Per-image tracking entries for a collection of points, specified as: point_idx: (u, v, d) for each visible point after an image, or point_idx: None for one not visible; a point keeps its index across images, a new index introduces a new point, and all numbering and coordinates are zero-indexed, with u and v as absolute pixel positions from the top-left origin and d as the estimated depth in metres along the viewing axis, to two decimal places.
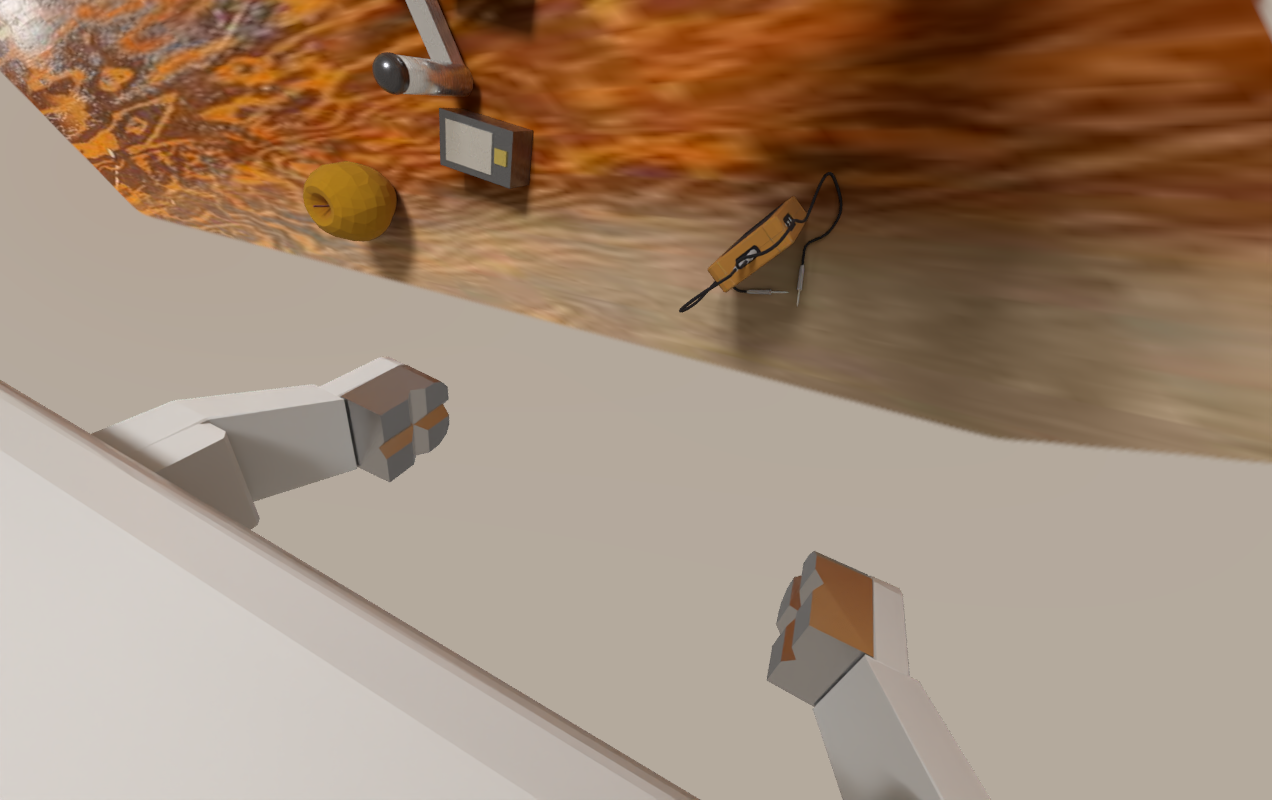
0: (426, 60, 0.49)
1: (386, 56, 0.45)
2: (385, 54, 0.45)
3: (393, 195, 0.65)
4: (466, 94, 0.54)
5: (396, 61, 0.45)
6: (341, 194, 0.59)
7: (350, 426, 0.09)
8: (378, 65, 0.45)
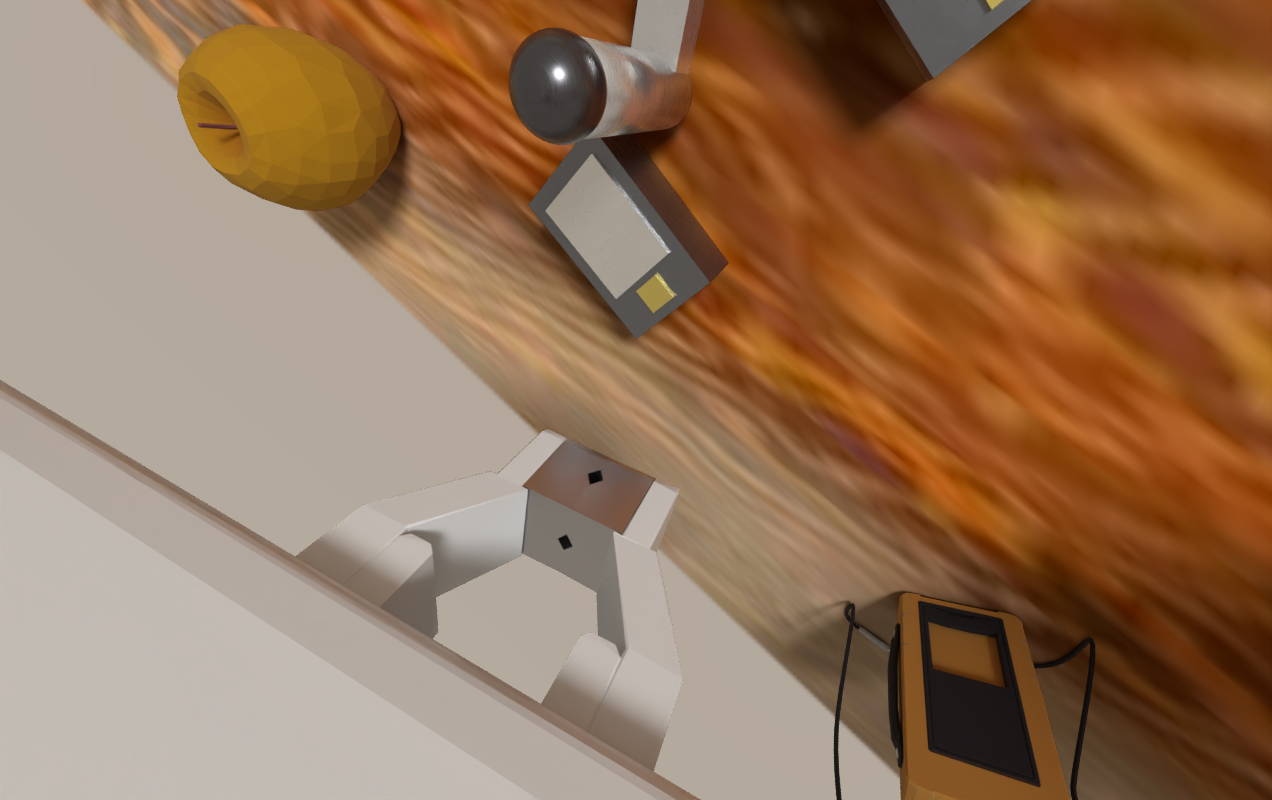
0: (643, 70, 0.19)
1: (575, 60, 0.15)
2: (575, 51, 0.15)
3: (395, 145, 0.32)
4: None
5: (593, 87, 0.16)
6: (282, 139, 0.25)
7: (527, 515, 0.08)
8: (542, 75, 0.15)
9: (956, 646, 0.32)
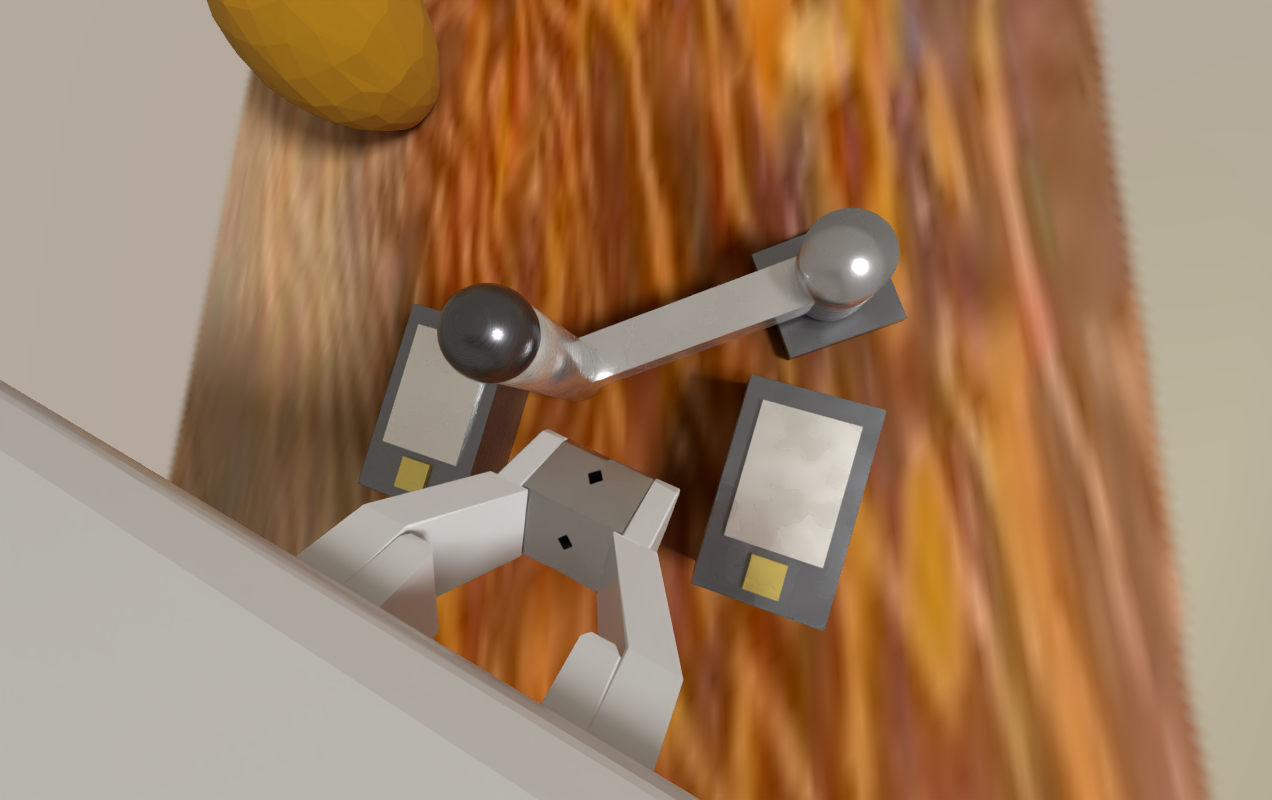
0: (565, 374, 0.20)
1: (514, 348, 0.15)
2: (521, 342, 0.15)
3: (389, 130, 0.29)
4: None
5: (506, 371, 0.16)
6: (287, 18, 0.21)
7: (527, 515, 0.08)
8: (481, 328, 0.15)
9: None
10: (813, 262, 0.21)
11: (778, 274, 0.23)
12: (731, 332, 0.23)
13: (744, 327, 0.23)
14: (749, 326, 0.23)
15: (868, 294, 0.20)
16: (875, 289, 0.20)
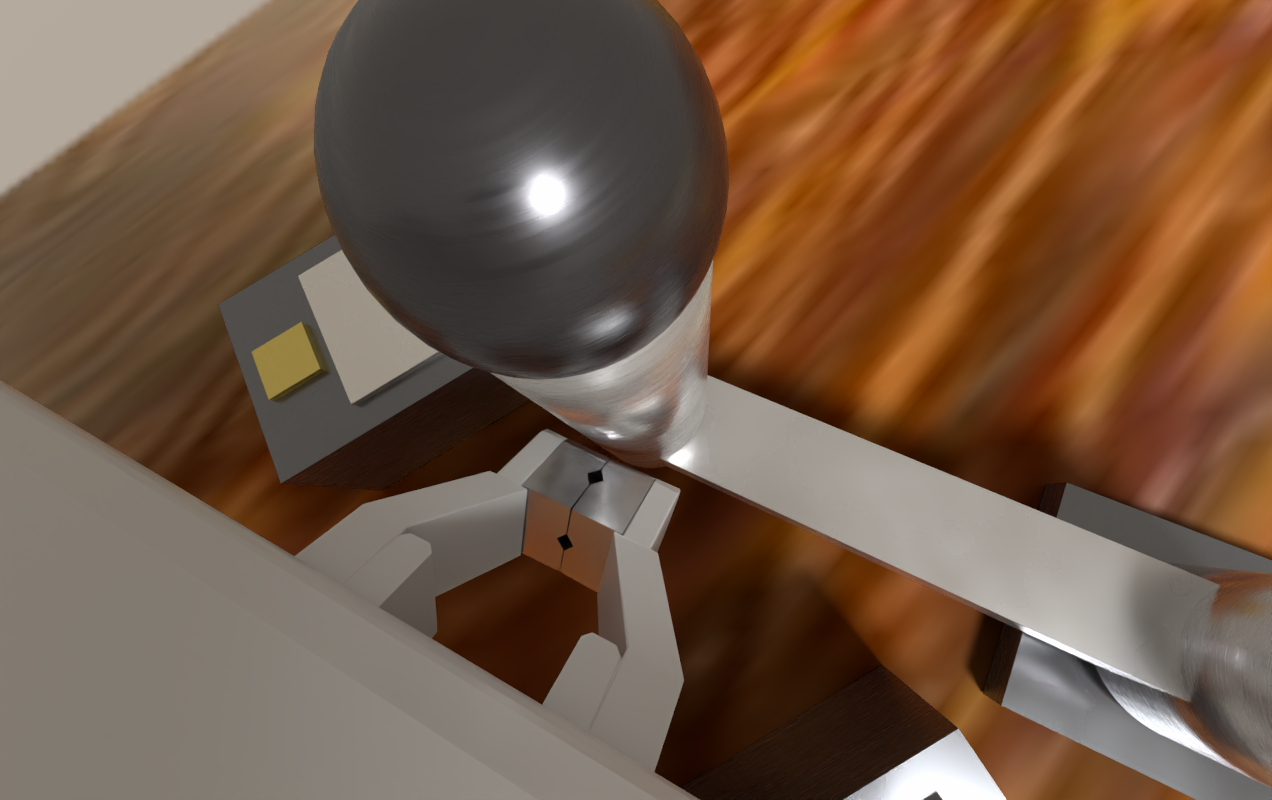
0: (635, 433, 0.08)
1: (549, 284, 0.03)
2: (593, 289, 0.03)
3: None
4: None
5: (463, 339, 0.04)
6: None
7: (526, 515, 0.08)
8: (481, 81, 0.03)
9: None
10: None
11: (1153, 584, 0.10)
12: (969, 600, 0.10)
13: (1003, 615, 0.10)
14: (1012, 620, 0.10)
15: None
16: None
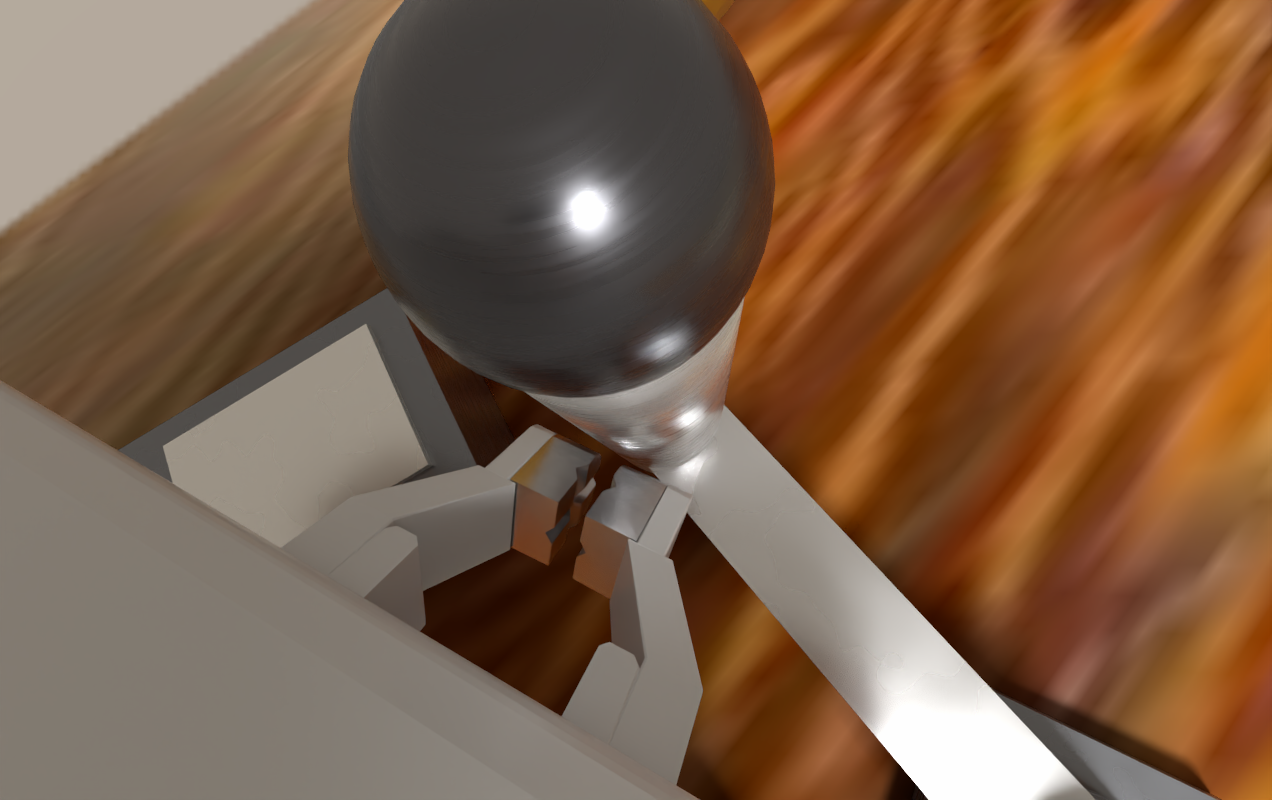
0: (617, 444, 0.08)
1: (506, 318, 0.03)
2: (547, 338, 0.03)
3: None
4: None
5: (426, 327, 0.04)
6: None
7: (515, 509, 0.08)
8: (492, 108, 0.03)
9: None
10: None
11: None
12: (878, 738, 0.10)
13: (904, 768, 0.10)
14: (911, 777, 0.10)
15: None
16: None
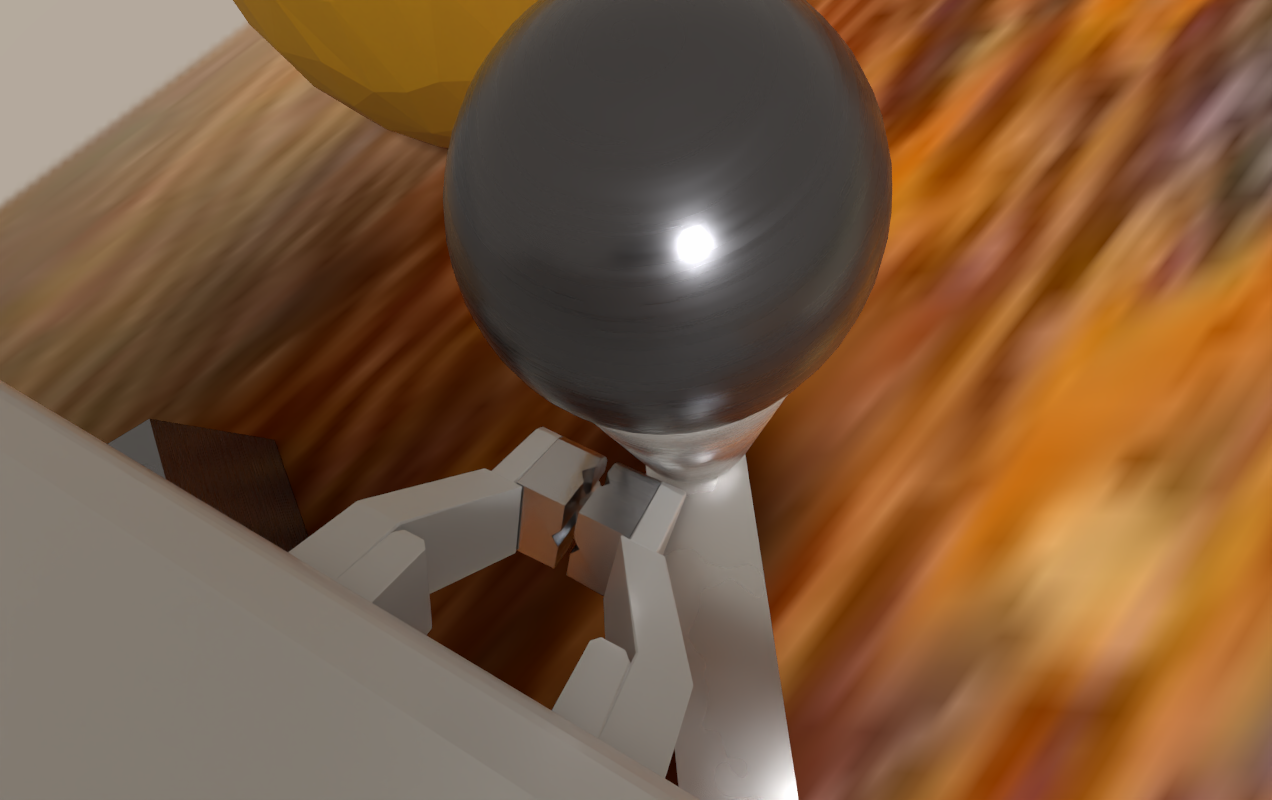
0: None
1: (505, 317, 0.03)
2: (532, 355, 0.03)
3: None
4: None
5: None
6: None
7: (521, 512, 0.08)
8: (573, 137, 0.02)
9: None
10: None
11: None
12: None
13: None
14: None
15: None
16: None
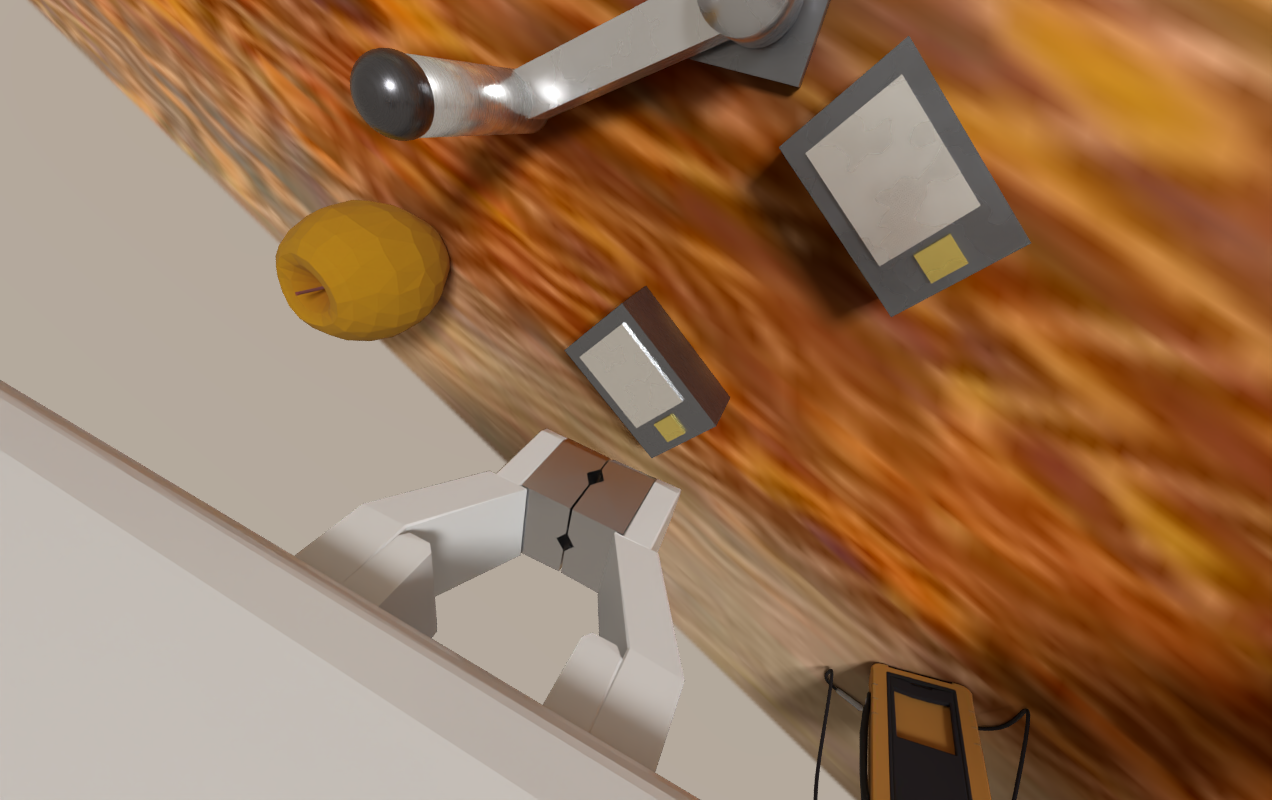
0: (484, 120, 0.24)
1: (406, 115, 0.20)
2: (410, 109, 0.20)
3: None
4: None
5: (409, 133, 0.21)
6: (364, 303, 0.30)
7: (526, 515, 0.08)
8: (375, 100, 0.19)
9: (917, 714, 0.37)
10: None
11: None
12: (643, 68, 0.24)
13: (654, 62, 0.23)
14: (660, 61, 0.23)
15: (754, 32, 0.20)
16: (762, 25, 0.20)
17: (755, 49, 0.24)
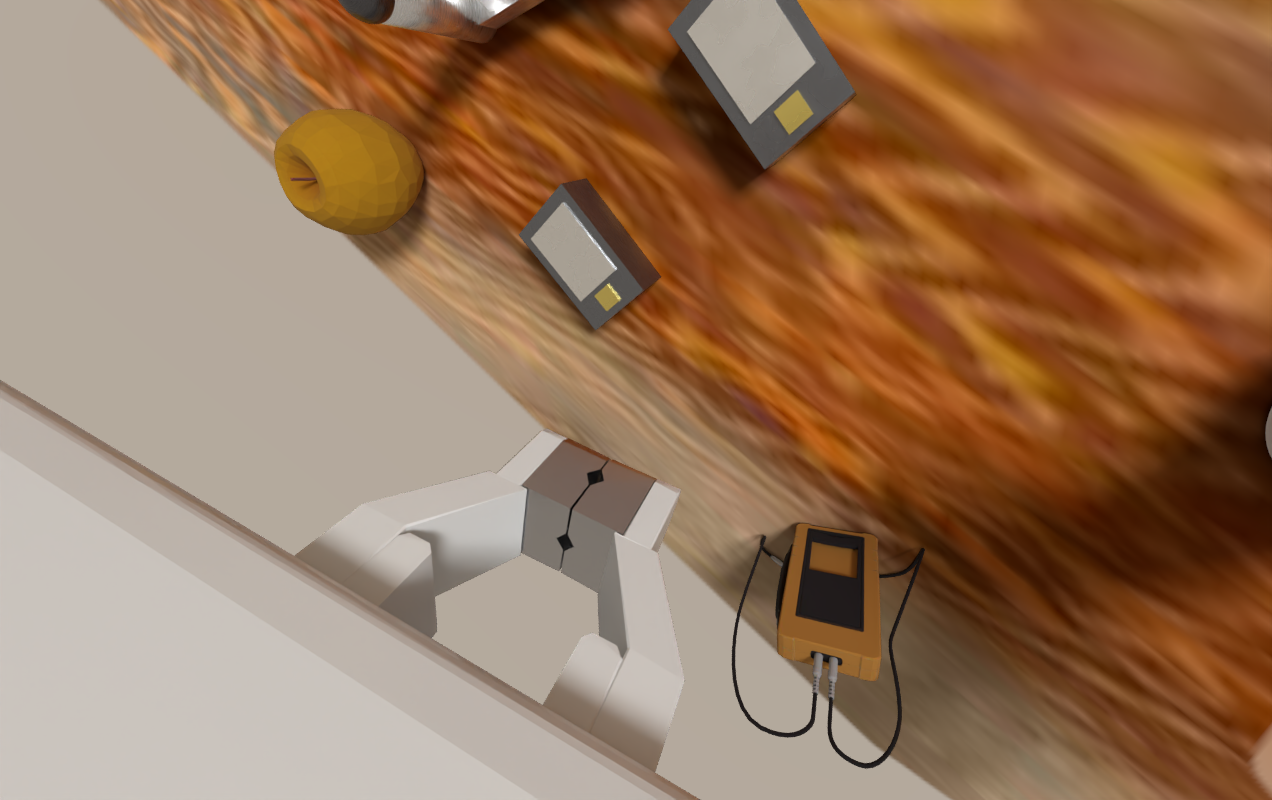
0: (438, 16, 0.30)
1: None
2: None
3: (420, 187, 0.43)
4: None
5: (375, 14, 0.27)
6: (348, 189, 0.37)
7: (526, 515, 0.08)
8: None
9: (829, 556, 0.43)
10: None
11: None
12: None
13: None
14: None
15: None
16: None
17: None
